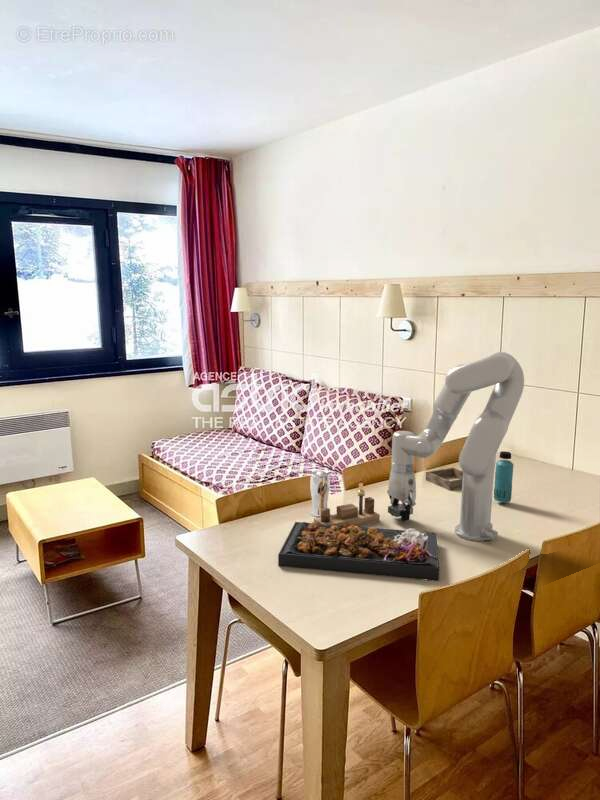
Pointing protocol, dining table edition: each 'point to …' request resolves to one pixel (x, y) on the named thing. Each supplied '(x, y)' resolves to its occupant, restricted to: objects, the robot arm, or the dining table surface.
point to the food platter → (361, 550)
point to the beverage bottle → (503, 478)
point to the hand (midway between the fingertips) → (400, 517)
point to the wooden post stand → (350, 514)
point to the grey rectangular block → (397, 510)
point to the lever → (361, 490)
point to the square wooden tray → (439, 476)
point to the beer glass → (319, 491)
